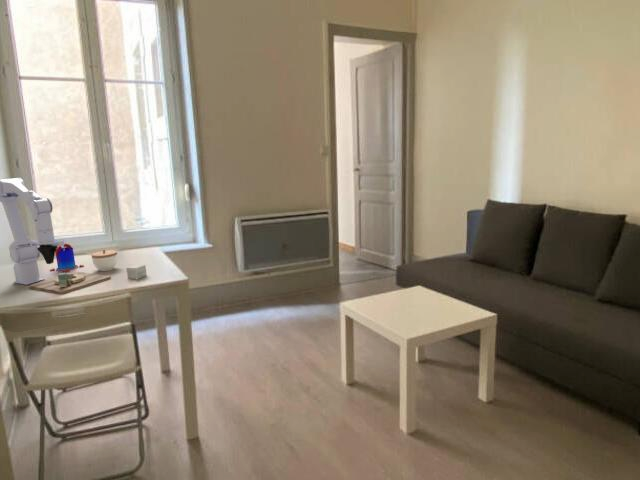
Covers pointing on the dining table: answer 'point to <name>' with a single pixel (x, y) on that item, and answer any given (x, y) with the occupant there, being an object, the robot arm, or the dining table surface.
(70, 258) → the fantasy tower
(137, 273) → the small box
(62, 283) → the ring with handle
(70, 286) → the post board
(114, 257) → the lidded jar
